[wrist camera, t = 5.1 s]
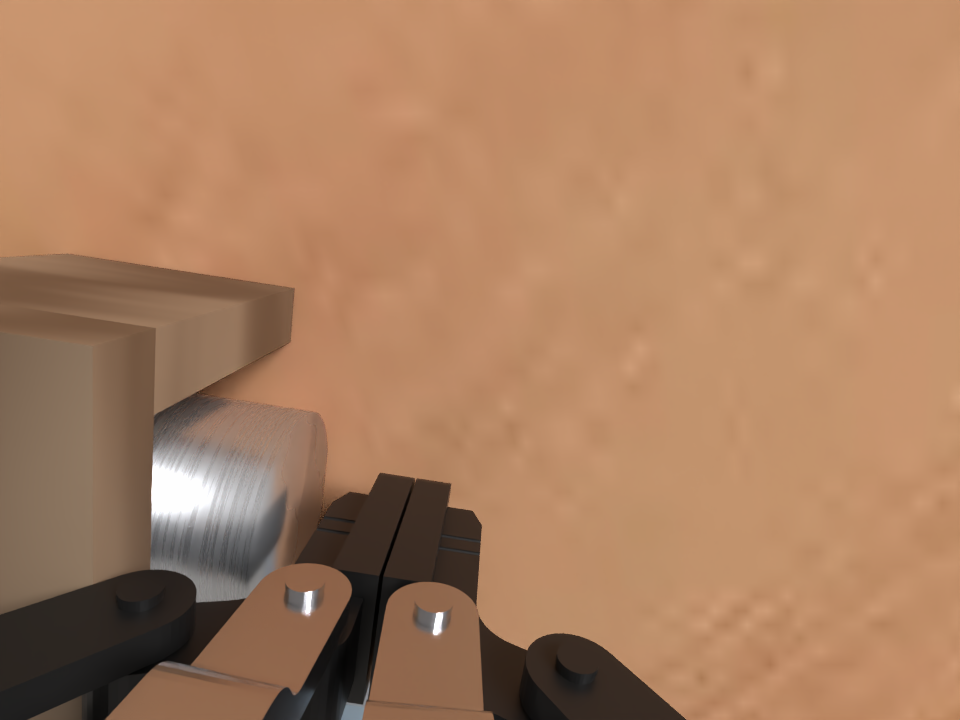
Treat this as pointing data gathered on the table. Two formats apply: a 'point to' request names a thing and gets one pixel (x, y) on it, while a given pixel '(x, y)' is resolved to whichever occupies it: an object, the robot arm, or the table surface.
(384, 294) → the table surface
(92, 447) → the brown bridge block
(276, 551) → the axle
